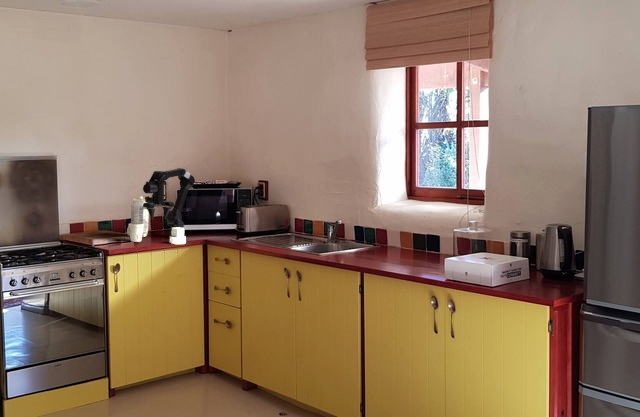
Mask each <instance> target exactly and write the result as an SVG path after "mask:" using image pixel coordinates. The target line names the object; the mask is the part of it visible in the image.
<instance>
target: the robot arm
mask: <svg viewBox="0 0 640 417" xmlns="http://www.w3.org/2000/svg"><path fill="white" fill-rule="evenodd" d="M173 177H177V179H178V180H179V187H180V188H179V191H178V193H177V197H176V200H175V203H174V201H168V200H165V198H164V197H166V194H165V186H166V185H167V182H165V181H167V180H168V179H169V178H173ZM195 182H196V179H195V177H194V176H193V175H192V174H191V173H190V172H188V171H187V170H186V169H185V168H181V167H179V168H175V169H169V170H165V171H163V170H154V171H153V173H152V174H151V177H150V179H149V180H148V181H145V184H144V185H143V187H142V191H143V192H144V194H152V195H151V196H149V195H146V196H145V197H144V198H145V202H146V203H144V204H143V207H144V208H145V209H147V210H148V215H149V218H150V220H151V221H154V216H155V211H156V208H155V207H162V209H163V219H164V220H166V224H167V227H169V235H168V236H167V237H168V238H170V236H172V228H176V227H180V228H185V223H184V222H183V220H182V218H183V217H182V216H183V215H182V211H183V207H184V204H185V201H186V199H187V196H188V192H189V190H191V188H193V186H194V184H195ZM171 209H172V210H171Z"/></svg>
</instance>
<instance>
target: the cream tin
mask: <svg viewBox="0 0 640 417" xmlns="http://www.w3.org/2000/svg"><path fill="white" fill-rule="evenodd" d="M186 239H187V237H186V235H184V237H178V238H177V237H172V236H170V237H169V244H170V243H171V244H170V245H185V244H186V243H187V240H186Z"/></svg>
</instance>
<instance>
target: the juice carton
mask: <svg viewBox="0 0 640 417" xmlns="http://www.w3.org/2000/svg"><path fill="white" fill-rule="evenodd" d="M144 203H146V202H145V197H144V196H140V195H139V196H138V198H137V197H134V198H132V201H131V210H130V212H131V214H130V216H131V220H130V223H143V224H144V225H143V232H142V238H146V237H147V235H148V232H149V212H148V210H147V209H145V208H144V207H143V204H144Z"/></svg>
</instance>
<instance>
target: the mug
mask: <svg viewBox="0 0 640 417" xmlns="http://www.w3.org/2000/svg"><path fill="white" fill-rule="evenodd" d="M143 225H144V224H143V223H131V222H129V223H128V227H127V229H126V233H127V235H128V237H129V236H130V237H129V239H130V242H134V243H135V242H136V243H139V242H140V243H141V242H142V239H143V237H142V232H143Z"/></svg>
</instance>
